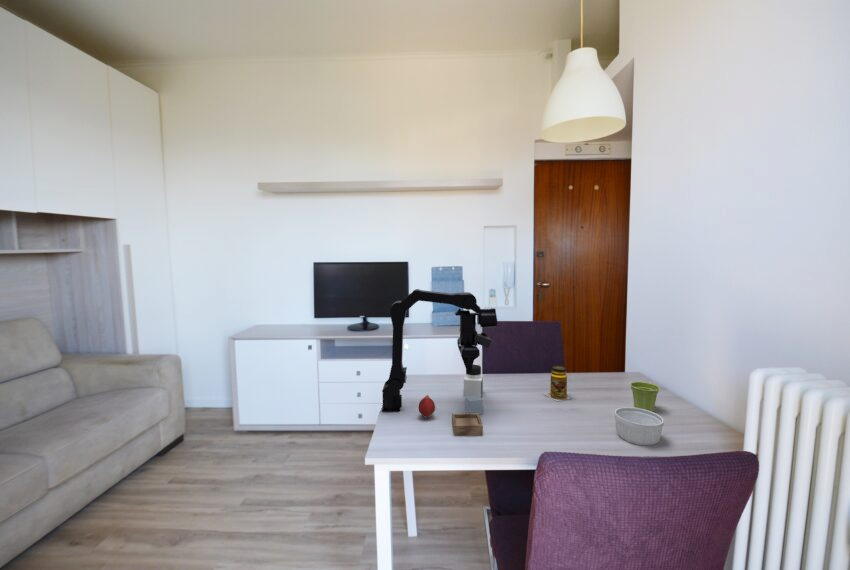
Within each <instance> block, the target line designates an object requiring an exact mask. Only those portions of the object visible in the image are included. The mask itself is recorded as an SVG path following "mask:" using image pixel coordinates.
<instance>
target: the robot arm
mask: <svg viewBox="0 0 850 570" xmlns="http://www.w3.org/2000/svg"><path fill="white" fill-rule="evenodd" d="M419 301H420V302H427V303H428V302H429V303H435V304H437V303H438V304H444V305H445V304H446V305H452V306H455V307H456V308H458V309H457V310H456V311H455V312H454V315H455V316H459V329H458V331H459V337H458V338H457V342H456V343H457V347H458V351H459V353H460V356H461V359H462V362H463V364H464V367H465V371H466V370H467V373H471V370H472V366H473V364H474V362H475V360H476V359H478V358H479V357H480V356H481V355H480V353H481V352H480V348H479V347H478V345H480V346H483V347H485V348H487V349H490V347H491V344H492V339H491V338H490V337H489V336H488V334H487V332H485V331H481V332H480V333H478V331H477V328H476V327H477V325H479V327H480V328H497V327H498V318H497V310H496V308H494V307H493V308H492V307H491V308H481V307H480V306H479V305H478V303H477V298H476V296H474V294H473V293H471V292H467V291H466V292H465V291H464V292H454V293H447V292H439V291H432V290H431V291H430V290H422V289H419V288H417V289H413V290H412V292H410V293H409V294H408V295H407V296H405V297H404V298H402V299H401V300H397V301H394V302H393V303H392V305H391V307H390V309H389V314H390V320H391V324H392V352H391V353H392V354H391V366H390V367H391V368H390V370H389V371H390V372H389V375H388V379H387V380H386V381H385V382H384V384H383V387H382V390H381V391H382V409H381V412H383V413H384V412H387V413H388V412H389V413H390V412H401V408H402V405H403V402H402V401H403V397H402V394H401V390H402V389H403V388H404V385H405V384H406V383H407V378H408V377H407V369H408V368H407V366H406V367H405V366H404V365H403V351H404V349H403V348H404V347H403V346H404V326H405V320H406V315H407V312H408V310H409V309H410V308H411V307H413V306H414V305H415V304H416V303H417V302H419ZM462 309H463V310H462ZM470 311H472V312H470Z"/></svg>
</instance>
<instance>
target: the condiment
mask: <svg viewBox="0 0 850 570" xmlns="http://www.w3.org/2000/svg"><path fill="white" fill-rule="evenodd" d="M567 390H568V375H567V368H566V367H565V366H560V365H554V366H552V367H551V373H550V391H549V392H547V393H543V395H544V396H546V397H548V398H550V399H552V400H554V401H557V402H561V401H566V400H570V399H572V397H570V396H568V395H567V393H568V392H567Z"/></svg>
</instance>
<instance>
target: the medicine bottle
mask: <svg viewBox="0 0 850 570" xmlns="http://www.w3.org/2000/svg"><path fill="white" fill-rule="evenodd" d="M483 380H484V376H483V374H482V367H481V365H479V364H476V363H473V366H472V370H471V373H467V370H466V369H465V375H464V378H463V397H465V396H473V395H478V396H479V397H480V398H481V399H482V397H483V391H484V389H483V388H484V383H483V382H484V381H483Z"/></svg>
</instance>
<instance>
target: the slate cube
mask: <svg viewBox="0 0 850 570" xmlns="http://www.w3.org/2000/svg"><path fill="white" fill-rule="evenodd" d="M464 410H465V411H466V413H479V415H480V414H483V413H484V400H483V398H482V397H481V398H480V397H479V396H478V395H473V396H464Z"/></svg>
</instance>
